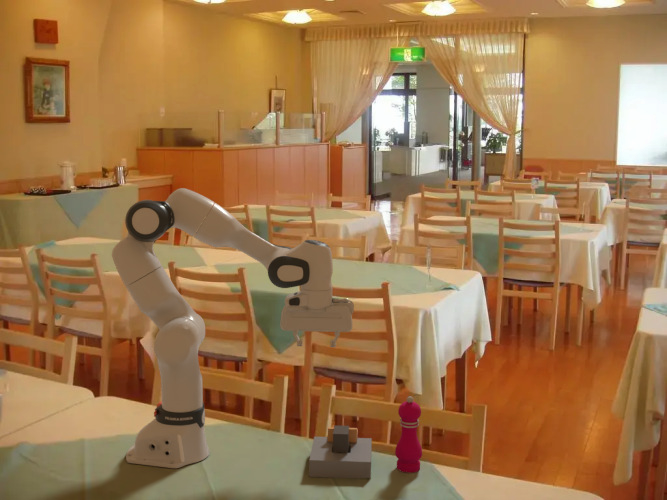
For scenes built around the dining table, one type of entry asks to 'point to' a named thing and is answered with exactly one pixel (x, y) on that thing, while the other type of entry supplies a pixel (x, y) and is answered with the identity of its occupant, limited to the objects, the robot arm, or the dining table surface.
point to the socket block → (340, 459)
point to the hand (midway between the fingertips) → (316, 346)
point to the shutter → (352, 434)
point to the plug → (341, 439)
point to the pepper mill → (409, 437)
